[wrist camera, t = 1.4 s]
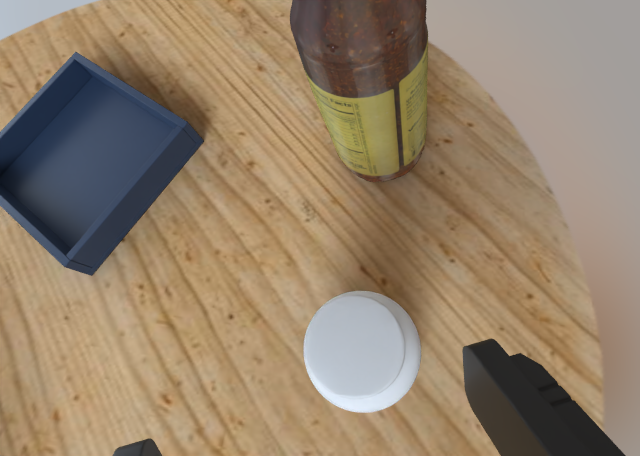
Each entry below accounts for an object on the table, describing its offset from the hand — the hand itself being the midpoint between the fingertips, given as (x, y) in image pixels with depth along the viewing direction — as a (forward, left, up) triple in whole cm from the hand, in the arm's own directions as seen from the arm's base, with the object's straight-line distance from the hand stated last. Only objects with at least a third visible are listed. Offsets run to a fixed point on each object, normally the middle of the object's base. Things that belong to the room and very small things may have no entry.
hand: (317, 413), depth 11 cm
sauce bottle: (-14, -9, -15) cm, 22 cm away
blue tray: (-1, -28, -15) cm, 32 cm away
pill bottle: (-2, -1, -15) cm, 16 cm away
